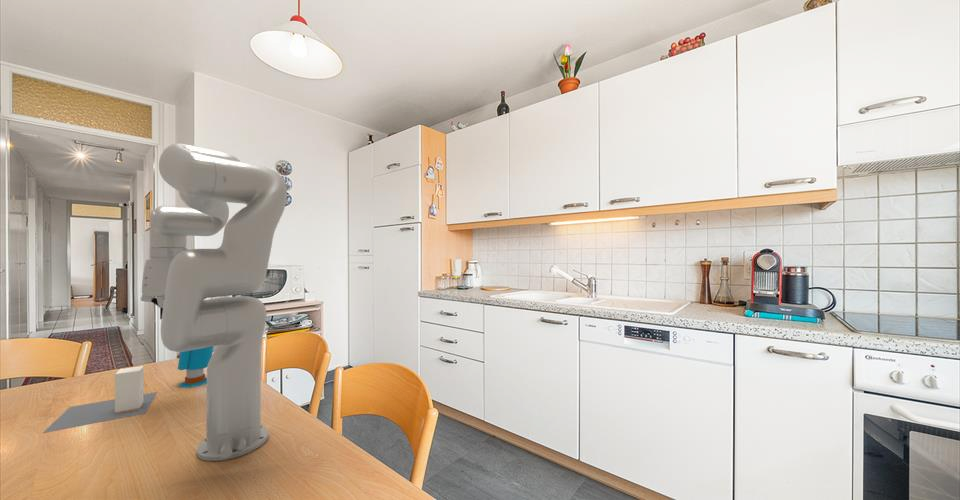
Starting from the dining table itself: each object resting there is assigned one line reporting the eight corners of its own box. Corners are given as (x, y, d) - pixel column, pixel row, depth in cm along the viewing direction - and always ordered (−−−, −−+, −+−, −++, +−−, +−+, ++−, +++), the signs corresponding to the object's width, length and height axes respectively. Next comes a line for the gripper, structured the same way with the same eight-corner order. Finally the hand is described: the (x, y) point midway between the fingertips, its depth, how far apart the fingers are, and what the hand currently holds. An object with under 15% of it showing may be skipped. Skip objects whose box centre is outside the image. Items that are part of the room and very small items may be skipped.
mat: (145, 414, 88) (145, 413, 88) (42, 434, 79) (42, 433, 79) (157, 393, 102) (157, 391, 102) (70, 408, 92) (70, 406, 92)
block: (139, 409, 90) (139, 370, 90) (114, 414, 88) (115, 374, 88) (143, 403, 94) (143, 365, 94) (119, 407, 92) (119, 369, 92)
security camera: (209, 317, 106) (169, 318, 103) (209, 387, 106) (169, 390, 103) (220, 312, 114) (183, 313, 111) (220, 377, 114) (183, 380, 111)
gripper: (204, 254, 103) (203, 316, 103) (133, 254, 94) (133, 322, 94) (202, 254, 97) (201, 321, 97) (126, 254, 88) (126, 327, 88)
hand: (167, 321), depth 95 cm, fingers closed
